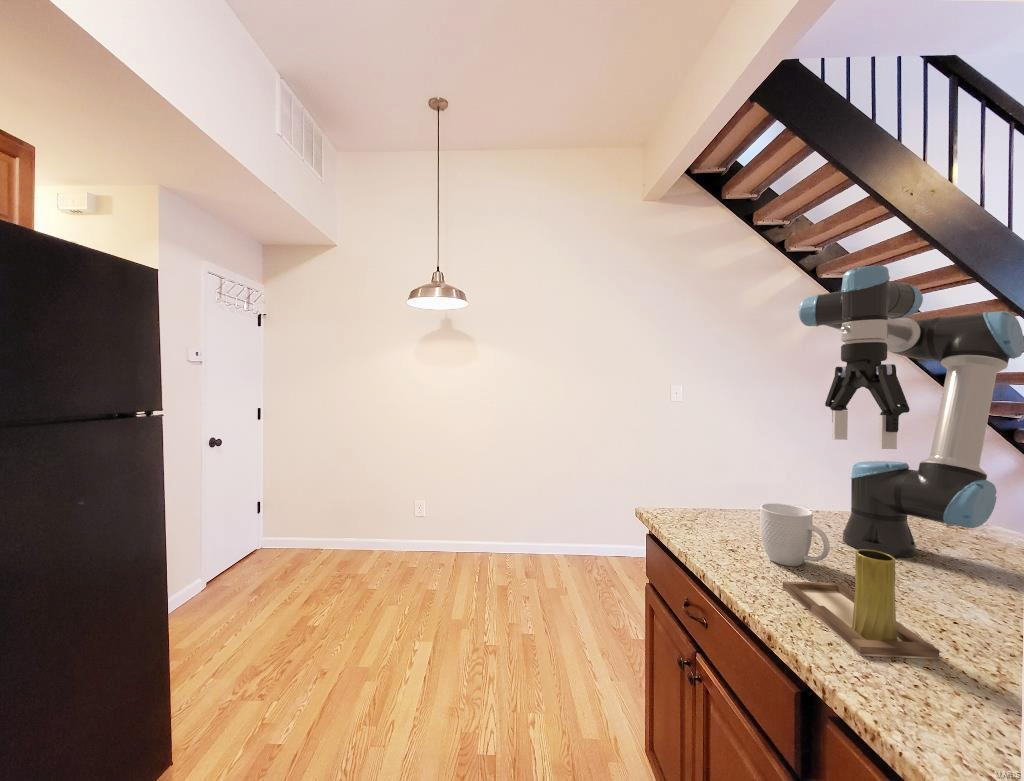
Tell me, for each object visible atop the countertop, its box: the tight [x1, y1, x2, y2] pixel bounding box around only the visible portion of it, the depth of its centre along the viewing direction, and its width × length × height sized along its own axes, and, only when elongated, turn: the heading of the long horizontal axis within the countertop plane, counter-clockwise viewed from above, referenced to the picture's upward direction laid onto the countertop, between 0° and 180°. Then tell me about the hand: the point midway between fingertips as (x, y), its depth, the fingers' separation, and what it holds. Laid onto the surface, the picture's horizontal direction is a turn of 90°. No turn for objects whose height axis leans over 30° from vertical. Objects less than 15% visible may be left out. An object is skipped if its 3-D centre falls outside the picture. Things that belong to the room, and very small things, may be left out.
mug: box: [759, 502, 831, 567], centre depth 105 cm, size 15×11×13 cm
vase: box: [852, 549, 897, 641], centre depth 75 cm, size 6×6×14 cm
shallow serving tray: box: [782, 581, 940, 660], centre depth 81 cm, size 12×23×2 cm, turn 176°
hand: (861, 443), depth 90 cm, fingers open, 13 cm apart
